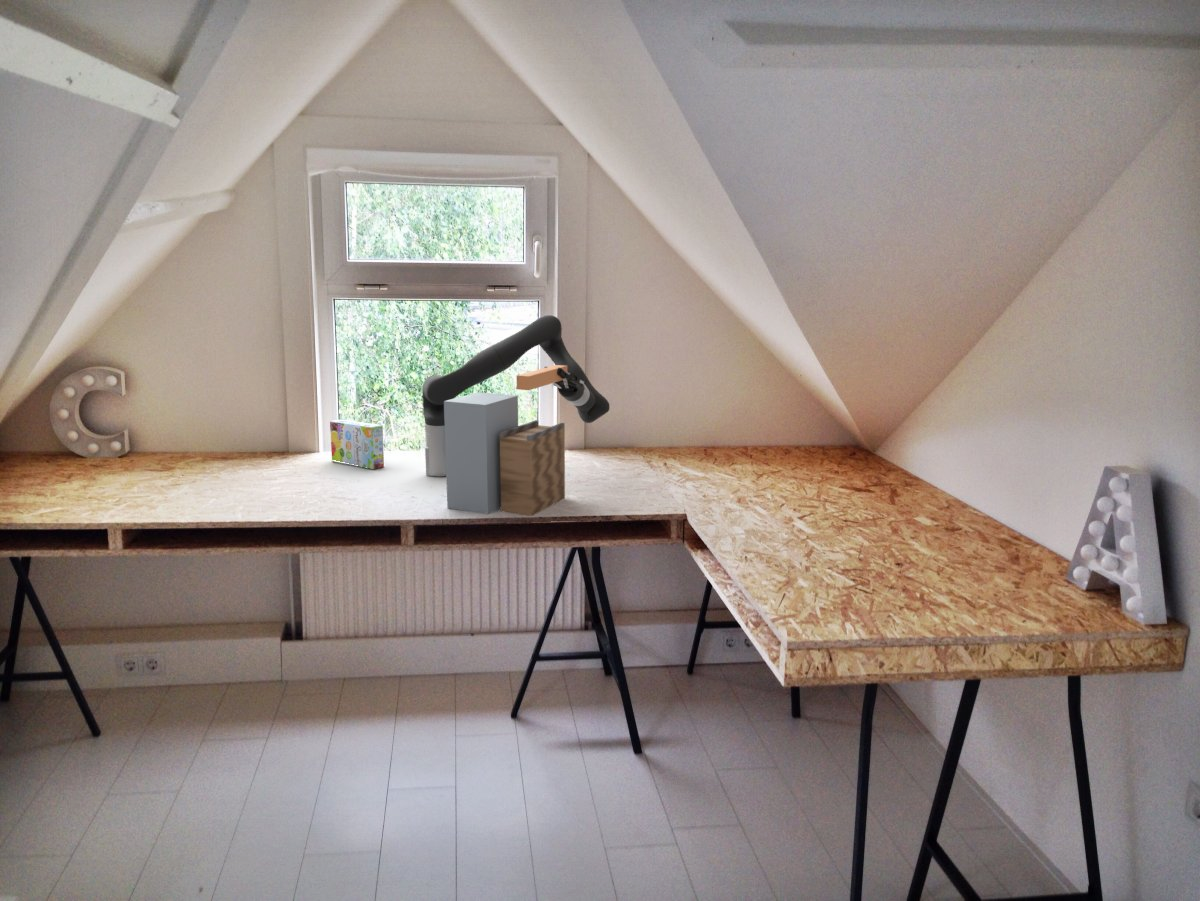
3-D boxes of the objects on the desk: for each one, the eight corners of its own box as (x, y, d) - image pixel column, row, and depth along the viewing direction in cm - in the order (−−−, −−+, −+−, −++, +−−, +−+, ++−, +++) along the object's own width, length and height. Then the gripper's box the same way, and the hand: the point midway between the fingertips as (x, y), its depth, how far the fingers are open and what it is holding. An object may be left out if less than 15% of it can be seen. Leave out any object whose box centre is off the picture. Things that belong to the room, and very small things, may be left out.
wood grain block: (531, 515, 270) (530, 435, 265) (501, 511, 274) (499, 432, 269) (564, 498, 289) (564, 423, 284) (536, 494, 293) (535, 420, 288)
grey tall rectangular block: (487, 514, 272) (485, 404, 265) (447, 508, 278) (443, 401, 270) (519, 499, 288) (517, 395, 281) (480, 493, 293) (477, 392, 286)
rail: (528, 390, 268) (528, 376, 267) (516, 389, 270) (516, 375, 269) (567, 378, 289) (567, 365, 288) (555, 377, 291) (555, 364, 290)
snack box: (385, 467, 327) (383, 424, 324) (373, 470, 323) (371, 427, 319) (342, 459, 338) (340, 418, 335) (330, 462, 334) (328, 420, 330)
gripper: (556, 378, 302) (533, 357, 287) (596, 381, 297) (575, 359, 281) (551, 400, 301) (528, 380, 286) (591, 403, 295) (569, 383, 280)
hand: (551, 370), depth 284 cm, fingers closed on rail, 4 cm apart
